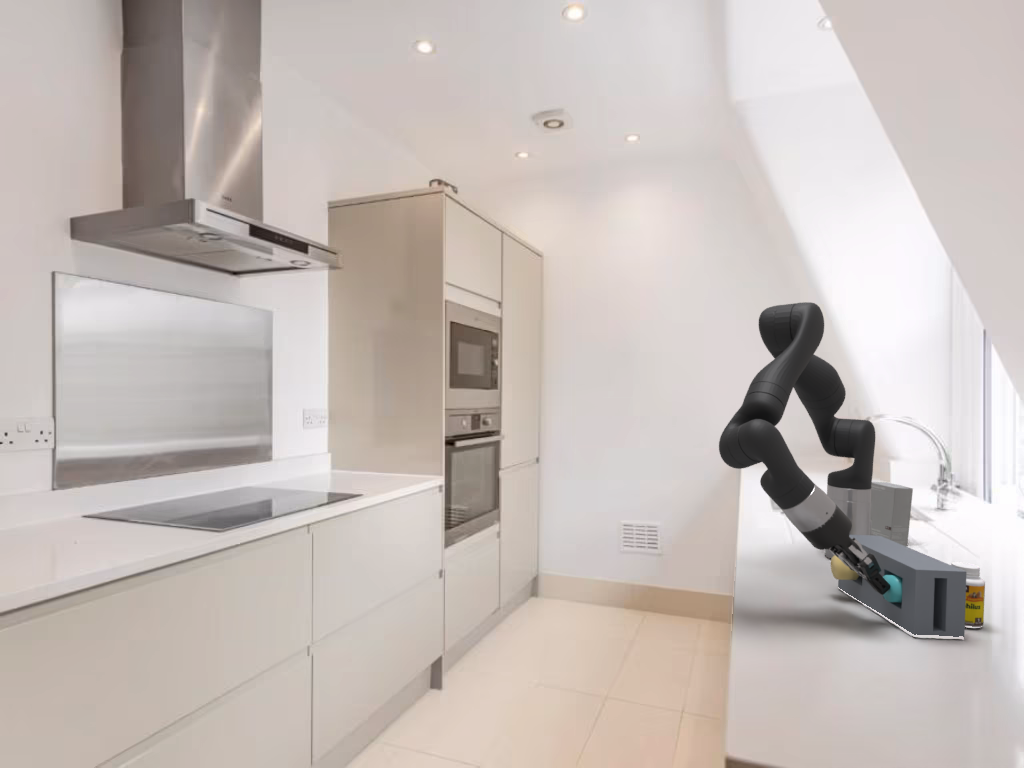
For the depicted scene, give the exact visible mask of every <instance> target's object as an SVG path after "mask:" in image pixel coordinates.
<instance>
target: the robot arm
mask: <svg viewBox="0 0 1024 768" xmlns="http://www.w3.org/2000/svg"><path fill="white" fill-rule="evenodd" d="M758 331H759V334H760V335H759V336H760V338H761V340H762V342H763V344H764V346H765V348H766V349H767V350H768V352H769V353H770V355H771V356H772V357H773V358H774V359H773V360H771V361H770V362H769V363H768V364H766V365H765V366H764V367H763V368H762V369H760V371H758V372H757V374H756V375H755V376H754V377H753V379H752V380H751V382H750V384H749V387H748V389H747V391H746V394H745V396H744V398H743V402H742V404H741V406H740V407H739V408H738V409H737V411H736V412H735V414H734V415H733V416H732V417H731V419H730V420H729V422H727V424H726V426H725V427H724V429H723V430H722V432H721V435H720V438H719V441H718V452H719V455H720V457H721V459H722V461H723V462H724V463H725V464H726V465H727V466H729V467H730V468H733V469H739V470H740V469H747V468H749V467H751V466H754V465H757V464H760V463H763V464H764V466H765V467H766V470H765V471H764V472H763V474H762V475H761V477H760V482H759V483H760V486H761V488H762V490H763V491H764V492H765V494H767V495H768V496H769V498H770V499H771V500H772V501H773V502H774V503H775V504H776V505H777V507H779V509H780V511H782V512H783V514H784V515H785V517H786V518H787V519H788V521H789V522H791V524H792V525H793V526H794V527H795V528H796V529H797V530H798V531H799V533H801V535H802V536H803V537H804V538H805V539H807V541H808V543H810V544H811V545H812V547H814V548H815V549H817V550H819V551H820V550H822V551H823V550H824V551H825V552H824V556H825V555H826V556H827V557H829V558H831V559H832V557H833V556H834V555H835V556H837V557H838V558H839V559H840V560H841V561H842V562H843V563H844V564H845V565H846V566H848V567H849V568H850V569H851V570H853V571H856V572H857V574H858V575H859V576H861V577H863V578H864V579H865V580H866V581H867V582H868V583H869V584H870V585H871V587H872V588H873V589H874V590H875V591H876V592H878V593H880V594H882V595H883V594H885V593H886V592H887V591H888V590H889V589H890V587H891V586H890V584H889V583H888V582H887V581H886V580H885V579H884V578H883V577H882V576H881V575H880V574H879V572H880V571H881V569H880V566H879V564H878V562H877V560H876V558H875V556H874V555H873V554H870V553H869V554H867V553H866V552H865V550H864V549H863V548H862V545H861V544H860V543H859V542H858V541H857V540H856V539H855V538H852V539H851V538H850V537H849V535H871V532H872V521H871V520H870V517H871V486H872V482H873V475H874V474H873V473H874V456H875V447H876V429H875V426H874V424H873V422H872V421H870V420H867V419H856V418H839V417H836V416H835V415H836V414H837V413H838V412H839V410H840V409H841V407H842V406H843V404H844V403H845V402H844V401H845V399H846V388H845V385H844V383H843V381H842V379H841V377H840V375H839V372H838V371H837V369H836V368H835V367H834V366H833V365H832V364H830V362H827V361H826V360H825V359H823V358H822V357H819V356H818V355H815V353H816V352H817V350H818V348H819V346H820V345H821V342H822V340H823V336H824V334H825V318H824V315H823V311H822V309H821V307H820V306H819V305H818V304H817V303H815V302H809V301H808V302H804V301H803V302H797V303H787V304H778V305H773V306H770V307H767V308H765V309H763V310H762V311H761V313H760V315H759V317H758ZM793 390H794V391H795V393H796V395H797V397H798V399H799V400H800V402H801V404H802V405H803V407H804V408H805V410H806V412H807V413H808V416H809V418H810V419H811V421H812V424H813V426H814V429H815V431H816V433H817V437H818V439H819V442H820V444H821V447H822V448H823V450H824V452H826V453H827V454H828V455H829V456H832V457H833V456H834V457H836V458H837V457H839V458H849V459H854V460H853V464H852V465H851V466H849V467H847V468H844V469H841V470H834V471H831V472H830V473H828V474H827V480H826V481H827V482H826V483H827V485H826V487H827V488H826V492H825V491H824V490H823V489H822V488H820V487H819V486H818V485H817V484H816V483H815V482H814V481H812V479H811V478H810V477H809V476H808V475H807V474H806V473H805V472H804V471H803V469H801V468H800V466H798V464H797V462H796V460H795V458H794V456H793V454H792V452H791V450H790V448H789V447H788V445H787V443H786V441H785V439H784V436H783V435H782V434H781V432H780V431H779V429H778V428H777V427H776V426H777V425H778V424H779V423H780V422H781V420H782V418H783V416H784V414H785V410H786V408H787V405H788V402H789V400H790V396H791V394H792V392H793ZM826 556H825V557H826ZM827 557H826V558H827ZM829 558H828V559H829ZM831 559H830V560H831Z"/></svg>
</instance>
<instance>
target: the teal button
mask: <svg viewBox="0 0 1024 768" xmlns="http://www.w3.org/2000/svg"><path fill="white" fill-rule="evenodd" d="M883 578H884V579H885V580H886V581H887V582H888V583H889V584H890V586H891V587H890V589H889V590H888V591H887V592H886V593H885V594H883V596H884V598H885V599H886V600H887V601H888V602H899V603H902V580H903V578H901V577H899V576H897V575H885V576H883Z"/></svg>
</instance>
